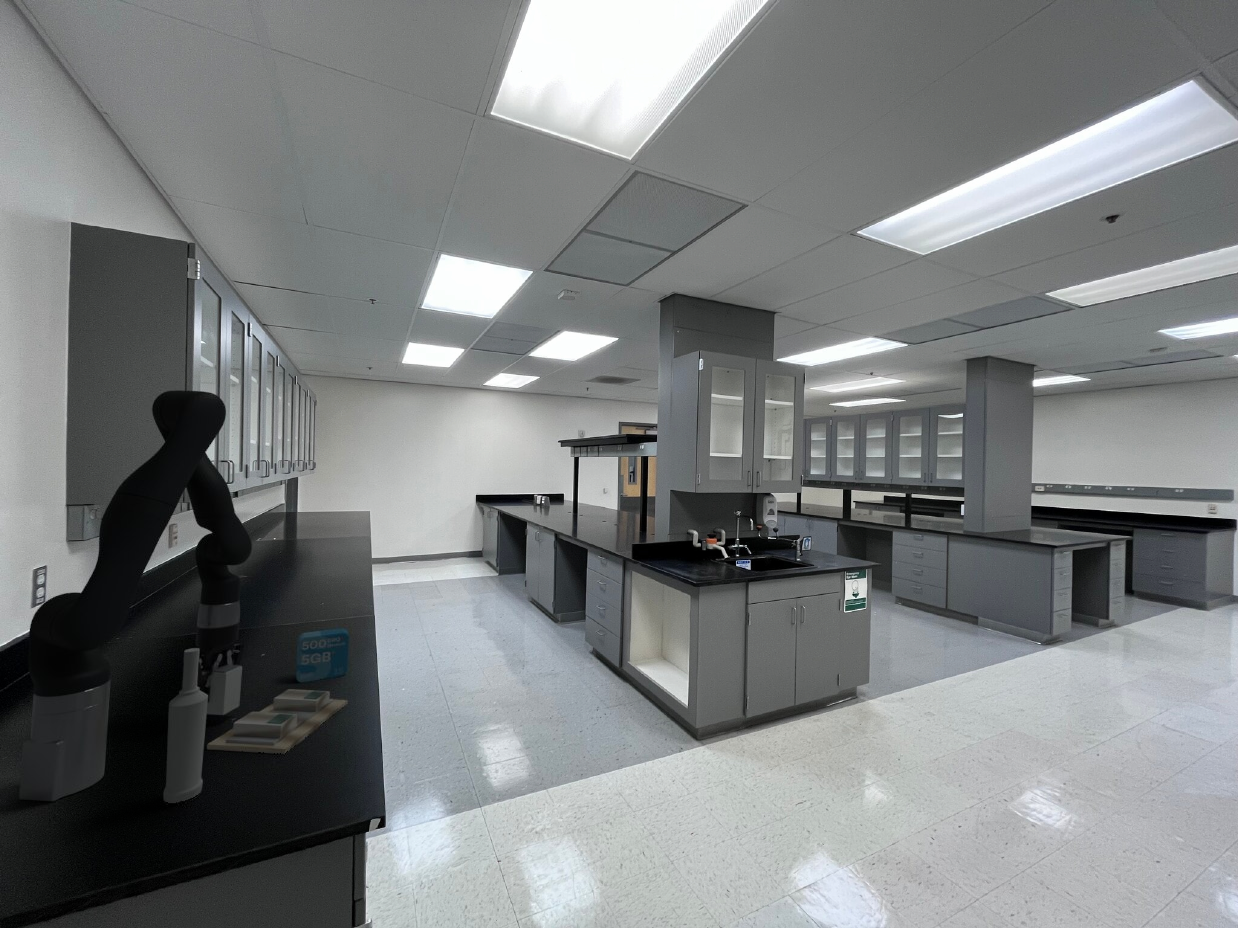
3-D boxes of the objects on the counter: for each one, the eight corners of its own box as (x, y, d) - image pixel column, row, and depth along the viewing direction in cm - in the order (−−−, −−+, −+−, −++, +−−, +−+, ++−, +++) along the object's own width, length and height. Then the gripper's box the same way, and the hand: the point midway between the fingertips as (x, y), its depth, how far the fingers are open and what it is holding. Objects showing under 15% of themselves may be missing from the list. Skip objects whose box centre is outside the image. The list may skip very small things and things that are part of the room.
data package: (295, 683, 133) (298, 638, 133) (295, 677, 136) (298, 633, 137) (347, 675, 139) (349, 631, 140) (345, 669, 143) (348, 627, 143)
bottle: (210, 786, 89) (218, 645, 90) (186, 806, 84) (195, 655, 85) (180, 786, 89) (188, 644, 90) (154, 805, 84) (163, 654, 85)
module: (223, 714, 110) (226, 672, 111) (183, 712, 111) (186, 669, 111) (239, 705, 115) (242, 664, 115) (200, 703, 115) (204, 662, 116)
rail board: (284, 753, 100) (286, 732, 100) (207, 749, 101) (208, 727, 101) (347, 704, 122) (348, 686, 122) (283, 700, 123) (284, 682, 123)
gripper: (208, 631, 106) (201, 714, 106) (258, 614, 121) (253, 686, 120) (173, 630, 107) (167, 711, 106) (227, 612, 121) (222, 685, 120)
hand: (212, 698), depth 113 cm, fingers closed on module, 4 cm apart
